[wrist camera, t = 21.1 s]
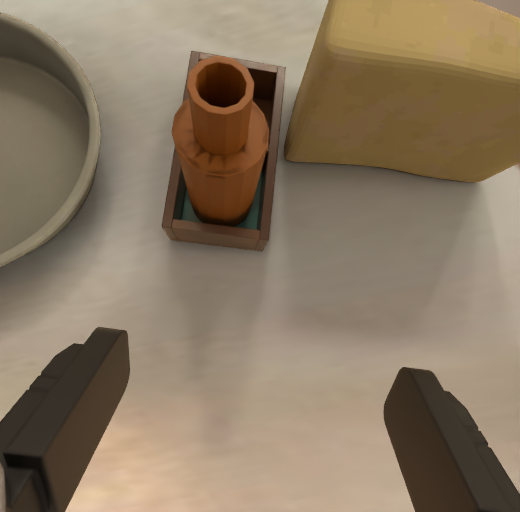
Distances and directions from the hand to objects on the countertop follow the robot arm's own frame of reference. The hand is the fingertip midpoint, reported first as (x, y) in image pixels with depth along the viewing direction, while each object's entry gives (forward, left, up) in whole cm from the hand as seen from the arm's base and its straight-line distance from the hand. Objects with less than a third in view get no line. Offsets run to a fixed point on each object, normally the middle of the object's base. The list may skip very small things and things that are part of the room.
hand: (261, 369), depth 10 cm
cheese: (-14, -21, -21) cm, 33 cm away
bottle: (+3, -12, -20) cm, 24 cm away
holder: (+3, -17, -21) cm, 27 cm away
